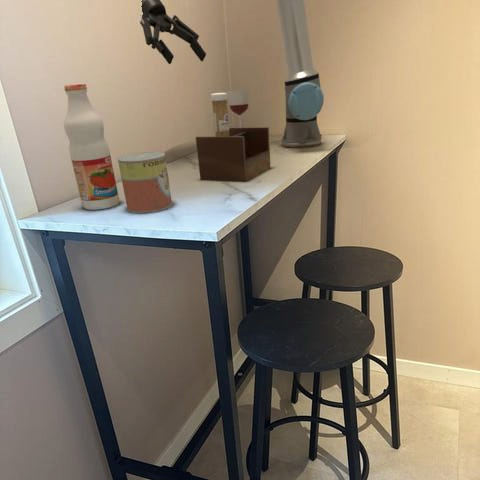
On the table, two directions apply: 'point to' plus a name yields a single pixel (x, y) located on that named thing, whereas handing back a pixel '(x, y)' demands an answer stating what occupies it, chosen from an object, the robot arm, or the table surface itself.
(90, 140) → the fruit juice
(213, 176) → the box
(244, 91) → the wineglass
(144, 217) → the table surface
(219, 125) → the sprinkles bottle
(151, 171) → the canned food
